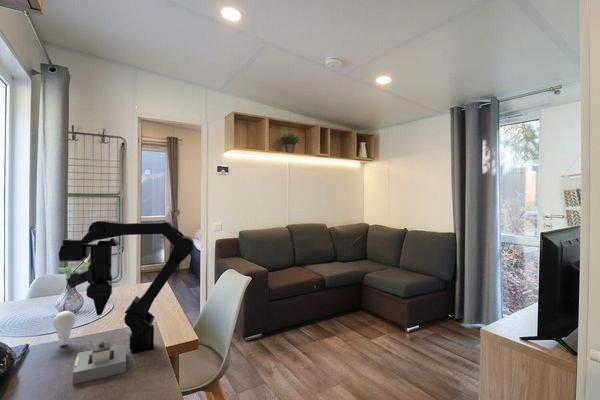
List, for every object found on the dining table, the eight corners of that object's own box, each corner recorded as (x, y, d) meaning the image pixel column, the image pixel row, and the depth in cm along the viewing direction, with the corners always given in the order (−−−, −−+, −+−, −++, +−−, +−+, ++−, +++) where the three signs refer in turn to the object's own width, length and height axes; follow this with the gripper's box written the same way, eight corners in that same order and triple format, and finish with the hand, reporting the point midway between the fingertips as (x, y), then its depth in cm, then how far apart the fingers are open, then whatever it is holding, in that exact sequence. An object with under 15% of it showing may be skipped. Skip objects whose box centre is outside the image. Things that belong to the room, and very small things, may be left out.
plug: (109, 362, 91) (110, 338, 91) (109, 369, 87) (109, 344, 87) (92, 366, 89) (93, 341, 89) (91, 373, 85) (92, 347, 85)
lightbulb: (62, 350, 98) (63, 315, 98) (46, 348, 99) (47, 313, 99) (80, 342, 104) (81, 309, 104) (65, 340, 105) (65, 307, 105)
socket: (124, 353, 96) (125, 343, 96) (125, 372, 86) (126, 360, 86) (77, 363, 90) (77, 352, 90) (72, 384, 80) (72, 371, 80)
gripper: (72, 257, 101) (71, 306, 101) (65, 268, 85) (63, 325, 85) (112, 255, 107) (111, 300, 106) (112, 264, 91) (111, 318, 90)
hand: (99, 310), depth 97 cm, fingers open, 9 cm apart
